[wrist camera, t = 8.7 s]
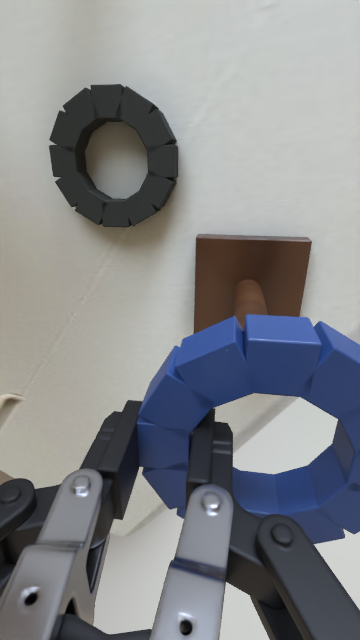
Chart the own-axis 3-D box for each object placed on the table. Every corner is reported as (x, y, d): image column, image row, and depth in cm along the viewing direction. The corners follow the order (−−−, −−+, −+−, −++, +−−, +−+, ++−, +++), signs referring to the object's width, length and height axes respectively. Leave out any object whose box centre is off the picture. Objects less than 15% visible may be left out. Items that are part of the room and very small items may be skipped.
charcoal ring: (70, 221, 29) (59, 225, 28) (53, 92, 26) (40, 86, 24) (177, 224, 28) (174, 228, 26) (178, 89, 24) (173, 82, 22)
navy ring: (152, 489, 16) (142, 529, 15) (143, 307, 12) (128, 331, 11) (361, 516, 15) (378, 563, 13) (425, 322, 11) (462, 352, 9)
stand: (195, 329, 32) (174, 416, 21) (197, 233, 28) (174, 277, 17) (292, 336, 31) (326, 432, 20) (308, 237, 27) (361, 285, 16)
